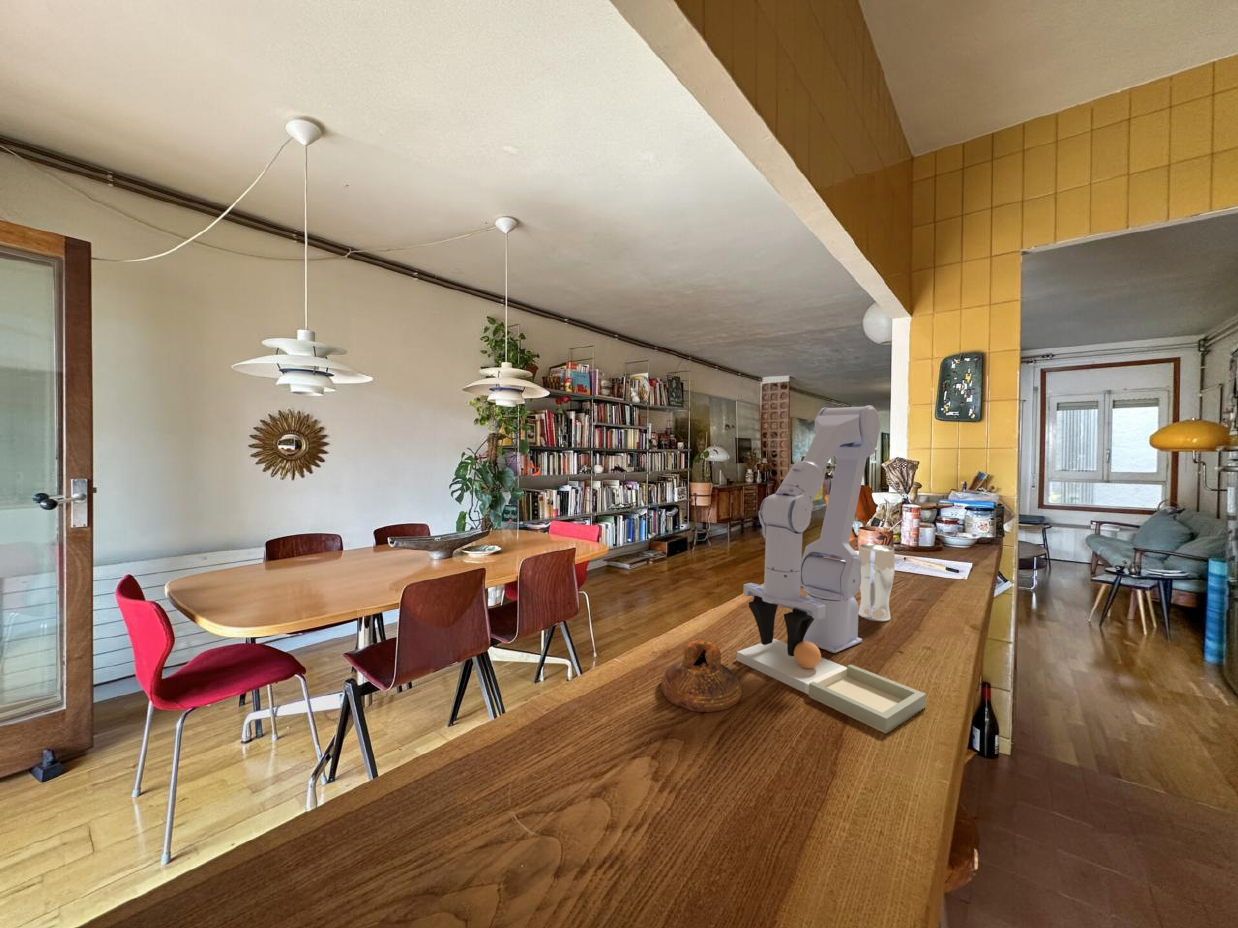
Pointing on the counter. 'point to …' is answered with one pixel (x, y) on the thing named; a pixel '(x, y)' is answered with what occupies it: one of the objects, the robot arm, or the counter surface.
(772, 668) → the plate
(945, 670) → the counter surface
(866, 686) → the tray
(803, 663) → the ball
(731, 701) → the bell
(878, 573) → the beer glass
